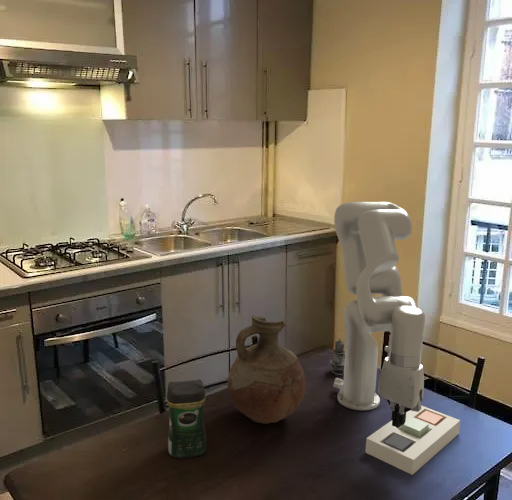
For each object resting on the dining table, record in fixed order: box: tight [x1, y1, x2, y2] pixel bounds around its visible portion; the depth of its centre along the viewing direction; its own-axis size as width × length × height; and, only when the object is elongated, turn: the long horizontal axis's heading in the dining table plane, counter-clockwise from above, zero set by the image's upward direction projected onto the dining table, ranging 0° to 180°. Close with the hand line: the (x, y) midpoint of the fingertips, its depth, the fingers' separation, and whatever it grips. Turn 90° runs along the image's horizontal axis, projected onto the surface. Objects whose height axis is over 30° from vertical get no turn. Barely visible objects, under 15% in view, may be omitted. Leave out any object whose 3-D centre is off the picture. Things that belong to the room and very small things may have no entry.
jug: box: [227, 314, 307, 425], centre depth 152 cm, size 22×22×30 cm
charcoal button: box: [384, 434, 412, 452], centre depth 138 cm, size 5×5×2 cm
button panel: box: [365, 405, 461, 476], centre depth 144 cm, size 13×26×4 cm, turn 136°
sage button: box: [401, 417, 429, 439], centre depth 143 cm, size 5×5×2 cm
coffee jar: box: [165, 378, 207, 459], centre depth 137 cm, size 10×8×19 cm
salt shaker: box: [329, 338, 345, 374], centre depth 184 cm, size 6×6×12 cm
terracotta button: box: [417, 411, 443, 426], centre depth 150 cm, size 5×5×2 cm
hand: (397, 424), depth 137 cm, fingers closed
